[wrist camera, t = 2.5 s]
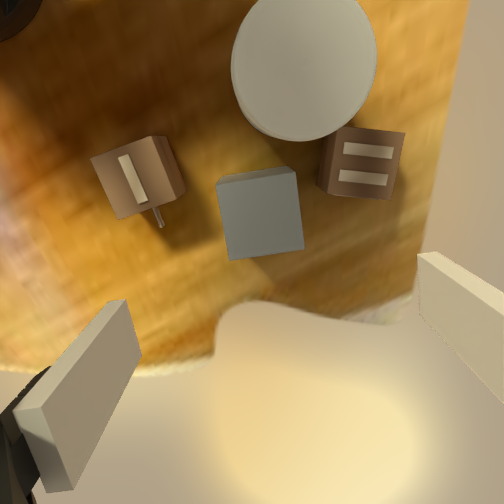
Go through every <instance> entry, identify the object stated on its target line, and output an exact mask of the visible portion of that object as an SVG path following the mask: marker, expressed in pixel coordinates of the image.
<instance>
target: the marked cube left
mask: <svg viewBox="0 0 504 504" xmlns="http://www.w3.org/2000/svg"><path fill="white" fill-rule="evenodd" d="M90 160H91V162H92V165H93V167H94V169H95V171H96V173H97V175H98V178H99V180H100V182H101V184H102V186H103V189H104V191H105V193H106V195H107V197H108V199H109V202H110V204H111V206H112V208H113V210H114V213H115V215H116V217H117V219H118V220H120V219H122V218H125V217H128V216H131V215H134V214H137V213H139V212H142V211H145V210H148V209H151V208H152V209H153V212H154V214H155V216H156V219H157V221H158V223H159V226H160V228H162V227H163V226H164V225H165V223H164V221H163V219H162V216H161V214H160V212H159V209H158V207H157V206H159V205H162V204H165V203H168V202H171V201H174V200H176V199H178V198H179V197H180V196H181V195H183V194H184V193H185V192H186V191H187V188H186V186H185V183H184V181H183V178H182V176H181V173H180V171H179V168H178V166H177V163H176V161H175V158H174V155H173V153H172V150H171V148H170V145H169V143H168V140H167V138H166V136H148V137H146V138H143V139H140V140H138V141H135V142H132V143H130V144H127V145H124V146H121V147H119V148H116V149H113V150H111V151H108V152H105V153H103V154H100V155H97V156H95V157H92V158H90Z"/></svg>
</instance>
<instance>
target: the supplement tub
mask: <svg viewBox="0 0 504 504" xmlns="http://www.w3.org/2000/svg"><path fill="white" fill-rule="evenodd" d="M376 67H377V46H376V39H375V35H374V32H373V29H372V26H371V24H370V21H369V19H368V17H367V15H366V13H365V12H364V10H363V9H362V7H361V6H360V5H359V4H358V2H357V1H356V0H258V1H257V2H256V3H255V5H254V6H253V7H252V8H251V9H250V11H249V12H248V14H247V15H246V17H245V18H244V20H243V22H242V24H241V26H240V28H239V31H238V33H237V36H236V39H235V42H234V46H233V50H232V56H231V77H232V84H233V88H234V92H235V95H236V98H237V101H238V104H239V106H240V109H241V111H242V113H243V115H244V116H245V118H246V119H247V120H248V121H249V123H250V124H251V125H252V126H253V127H254V128H256V129H257V130H258V131H260V132H262V133H263V134H265V135H268V136H271V137H274V138H278V139H282V140H288V141H310V140H315V139H318V138H321V137H324V136H326V135H328V134H331V133H332V132H334V131H336V130H337V129H339V128H340V127H342V126H343V125H345V124H346V123H347V122H348V121H349V120H350V119H352V118H353V116H354V115H355V114H356V113H357V112H358V111H359V109H360V108H361V107H362V105H363V104H364V102H365V100H366V98H367V97H368V95H369V92H370V90H371V88H372V85H373V81H374V78H375V73H376Z"/></svg>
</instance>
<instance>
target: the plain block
mask: <svg viewBox="0 0 504 504" xmlns="http://www.w3.org/2000/svg"><path fill="white" fill-rule="evenodd" d="M215 186H216V192H217V197H218V202H219V208H220V213H221V218H222V224H223V229H224V234H225V240H226V245H227V250H228V256H229V261H231V260H238V259H244V258H251V257H258V256H264V255H271V254H277V253H284V252H291V251H297V250H304V249H305V244H304V236H303V228H302V220H301V212H300V204H299V196H298V188H297V180H296V172H295V171H294V170H292V169H291V168H290V167H289V166H288V165H287V166H280V167H274V168H268V169H262V170H256V171H250V172H244V173H237V174H231V175H225V176H222V177H221V178H220V180H219V181H218V182H217V183H216V185H215Z"/></svg>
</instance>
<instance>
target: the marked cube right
mask: <svg viewBox="0 0 504 504" xmlns="http://www.w3.org/2000/svg"><path fill="white" fill-rule="evenodd" d="M404 136H405V133H401V132H391V131H382V130H373V129H364V128H355V127H346V126H342V127H340V128H339V129H337V130H336V131H334V132H332V133H331V134H328V135H326V136H324V141H323V147H322V154H321V160H320V167H319V174H318V180H317V186H318V187H319V188H320V189H322V190H323V191H324V192H325V193H327V194H332V195H337V196H346V197H356V198H365V199H375V200H379V199H383V200H391V197H392V193H393V188H394V183H395V179H396V174H397V169H398V165H399V160H400V155H401V150H402V146H403V141H404Z"/></svg>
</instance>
